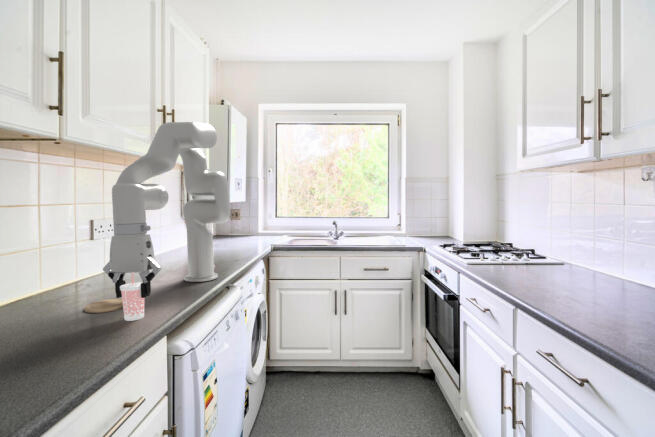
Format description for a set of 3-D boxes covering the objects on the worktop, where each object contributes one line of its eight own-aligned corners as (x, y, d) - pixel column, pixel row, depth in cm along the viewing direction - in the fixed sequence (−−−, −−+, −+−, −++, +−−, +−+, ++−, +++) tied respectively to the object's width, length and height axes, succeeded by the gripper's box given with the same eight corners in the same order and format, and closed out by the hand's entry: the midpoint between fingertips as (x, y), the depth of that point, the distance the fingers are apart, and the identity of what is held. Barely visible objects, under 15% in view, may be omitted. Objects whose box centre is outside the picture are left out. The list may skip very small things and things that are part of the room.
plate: (102, 301, 108) (102, 298, 107) (136, 301, 107) (136, 298, 107) (75, 312, 97) (74, 309, 97) (112, 313, 96) (112, 309, 96)
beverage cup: (152, 314, 95) (150, 264, 94) (135, 322, 89) (133, 269, 88) (133, 313, 96) (131, 264, 95) (115, 321, 90) (113, 268, 89)
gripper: (169, 228, 94) (171, 292, 95) (108, 228, 95) (111, 292, 96) (154, 231, 87) (157, 300, 88) (88, 231, 87) (92, 300, 88)
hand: (133, 295), depth 92 cm, fingers closed on beverage cup, 6 cm apart
